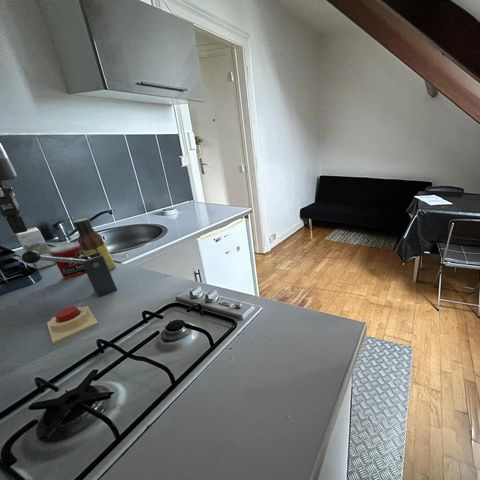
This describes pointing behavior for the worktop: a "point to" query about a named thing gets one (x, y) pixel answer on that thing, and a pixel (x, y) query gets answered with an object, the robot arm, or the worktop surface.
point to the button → (67, 314)
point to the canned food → (69, 251)
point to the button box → (71, 325)
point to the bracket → (98, 274)
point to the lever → (47, 258)
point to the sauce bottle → (92, 241)
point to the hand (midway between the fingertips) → (20, 229)
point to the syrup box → (35, 246)
